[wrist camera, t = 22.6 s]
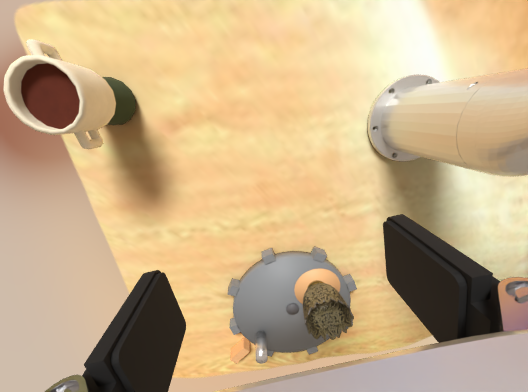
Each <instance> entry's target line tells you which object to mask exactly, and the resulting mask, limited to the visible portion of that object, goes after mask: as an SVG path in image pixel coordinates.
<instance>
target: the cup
mask: <svg viewBox="0 0 528 392" xmlns="http://www.w3.org/2000/svg"><path fill="white" fill-rule="evenodd" d="M303 313H304V320H305V325H306V327H307V331H308V333H309V334H311V335H312V336H313V337H314V338H315V339H318V338H319V337H321V336H322V338H323V339H324V340H325V341H326V340H327V336H328V337H329V338H330V339H335V338H336V337H338V338H339V337H340V334H341V330H342V331H343V332H345V333H347V329H346V328H347V327H352V326H353V322H352V321H353V319H354V316H353V314H352V313H351V309H350V307H349V306H348V305H347V303H346V302H345V300H344V299H343V297H342V296H341V295H340V293H339V292H338V291H337V290H336V289H335V288H334V287H332V286H331V285H329V284H325V283H324V282H322V281H320V280H315V281H312V282H311V283H310V284H309V285H308V287H307V291H306V292H305V294H304V297H303Z"/></svg>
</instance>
